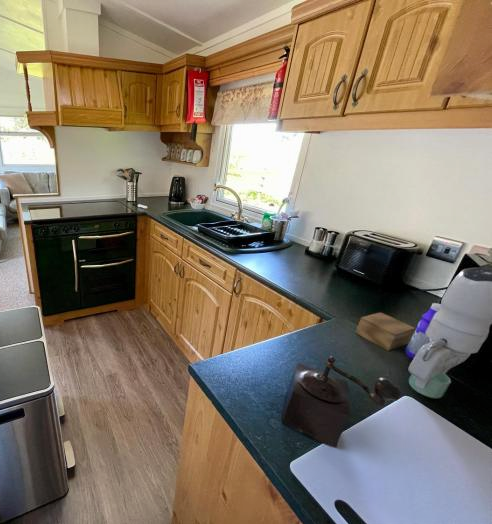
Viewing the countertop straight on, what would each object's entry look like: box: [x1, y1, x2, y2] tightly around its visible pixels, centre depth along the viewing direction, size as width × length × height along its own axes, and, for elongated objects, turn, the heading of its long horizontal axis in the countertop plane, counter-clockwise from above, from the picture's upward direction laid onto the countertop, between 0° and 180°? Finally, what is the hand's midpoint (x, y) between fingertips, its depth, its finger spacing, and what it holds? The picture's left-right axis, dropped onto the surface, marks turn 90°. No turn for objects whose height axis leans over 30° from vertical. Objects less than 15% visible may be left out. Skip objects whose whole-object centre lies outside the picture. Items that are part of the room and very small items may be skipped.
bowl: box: [408, 373, 452, 399], centre depth 72 cm, size 6×6×5 cm
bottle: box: [404, 302, 441, 360], centre depth 84 cm, size 7×6×17 cm
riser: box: [354, 311, 416, 352], centre depth 94 cm, size 10×11×6 cm
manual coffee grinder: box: [280, 355, 402, 448], centre depth 59 cm, size 16×11×18 cm
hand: (428, 381), depth 72 cm, fingers closed on bowl, 6 cm apart
